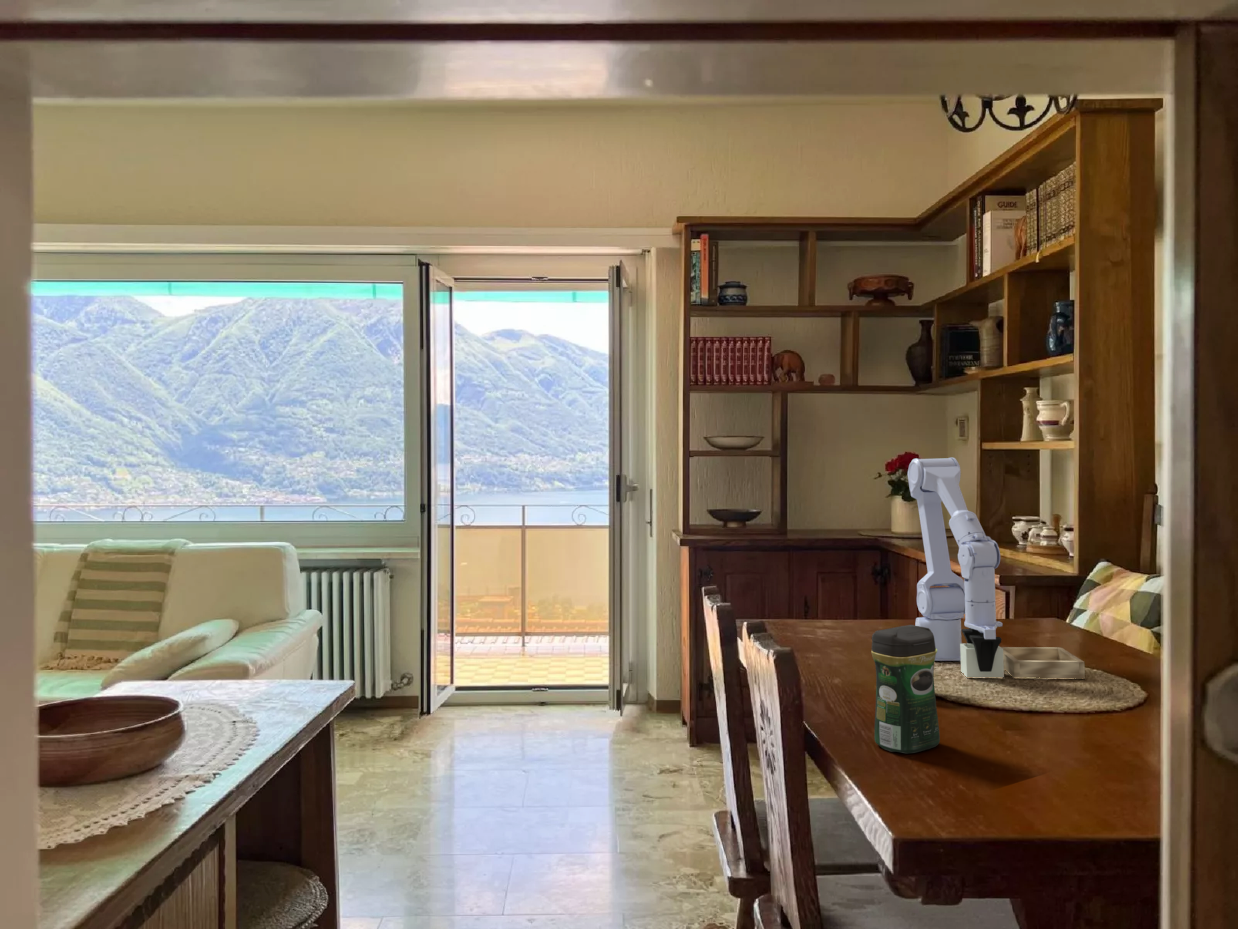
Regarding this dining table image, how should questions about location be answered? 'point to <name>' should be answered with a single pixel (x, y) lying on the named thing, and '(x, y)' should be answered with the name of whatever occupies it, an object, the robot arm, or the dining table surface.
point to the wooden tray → (1042, 662)
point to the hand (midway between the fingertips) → (981, 667)
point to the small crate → (971, 665)
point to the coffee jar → (905, 689)
